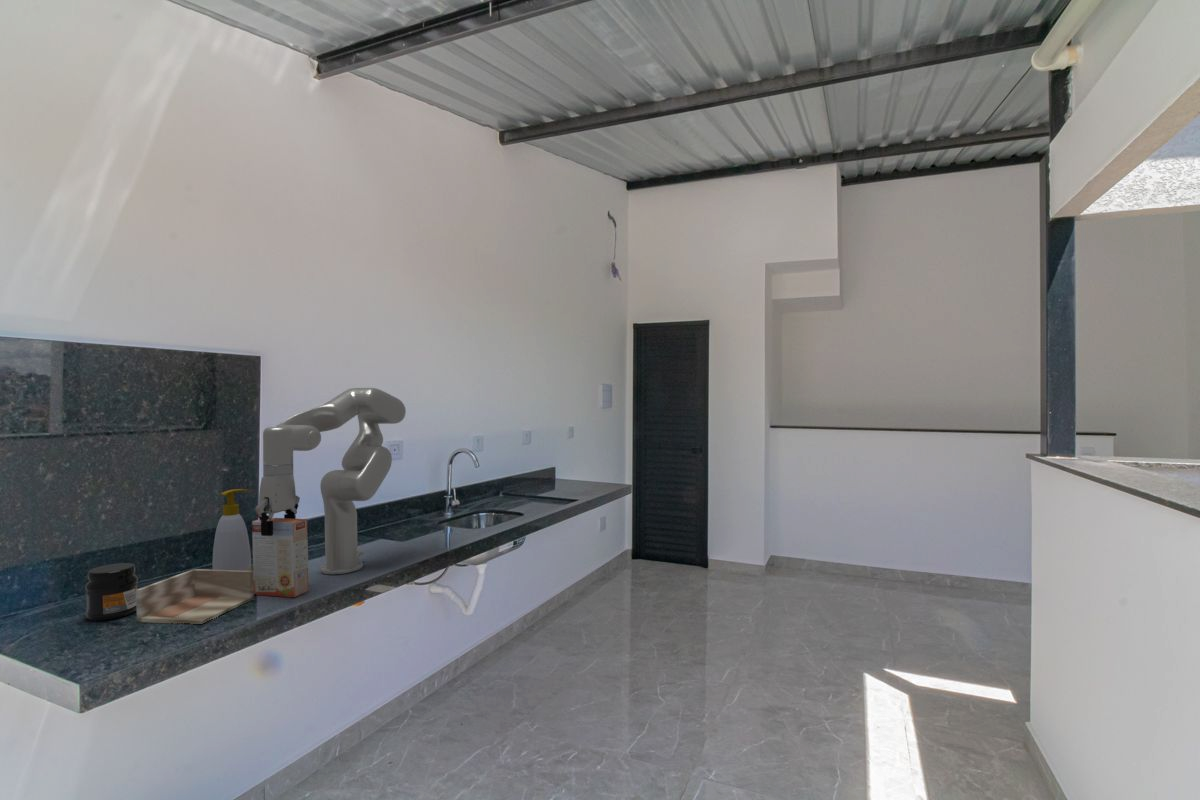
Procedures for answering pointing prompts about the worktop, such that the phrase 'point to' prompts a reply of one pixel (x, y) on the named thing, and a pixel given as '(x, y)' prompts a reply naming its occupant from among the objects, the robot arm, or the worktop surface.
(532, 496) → the worktop surface
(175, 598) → the beige tray
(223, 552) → the soap bottle
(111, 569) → the supplement container
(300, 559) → the cracker box
